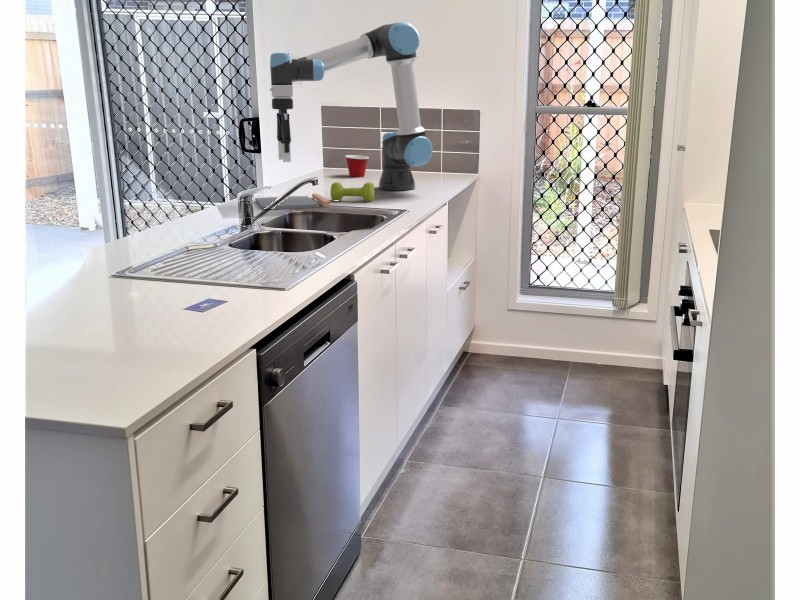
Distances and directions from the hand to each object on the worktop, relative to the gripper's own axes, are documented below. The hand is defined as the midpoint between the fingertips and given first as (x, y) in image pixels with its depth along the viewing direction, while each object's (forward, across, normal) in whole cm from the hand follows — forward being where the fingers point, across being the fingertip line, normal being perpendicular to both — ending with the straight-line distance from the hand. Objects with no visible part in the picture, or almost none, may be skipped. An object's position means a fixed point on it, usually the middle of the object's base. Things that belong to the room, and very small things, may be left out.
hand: (284, 160), depth 288 cm
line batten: (+16, 0, +13) cm, 20 cm away
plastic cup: (+16, -61, +42) cm, 76 cm away
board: (+16, 0, 0) cm, 16 cm away
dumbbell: (+16, 0, +25) cm, 30 cm away
